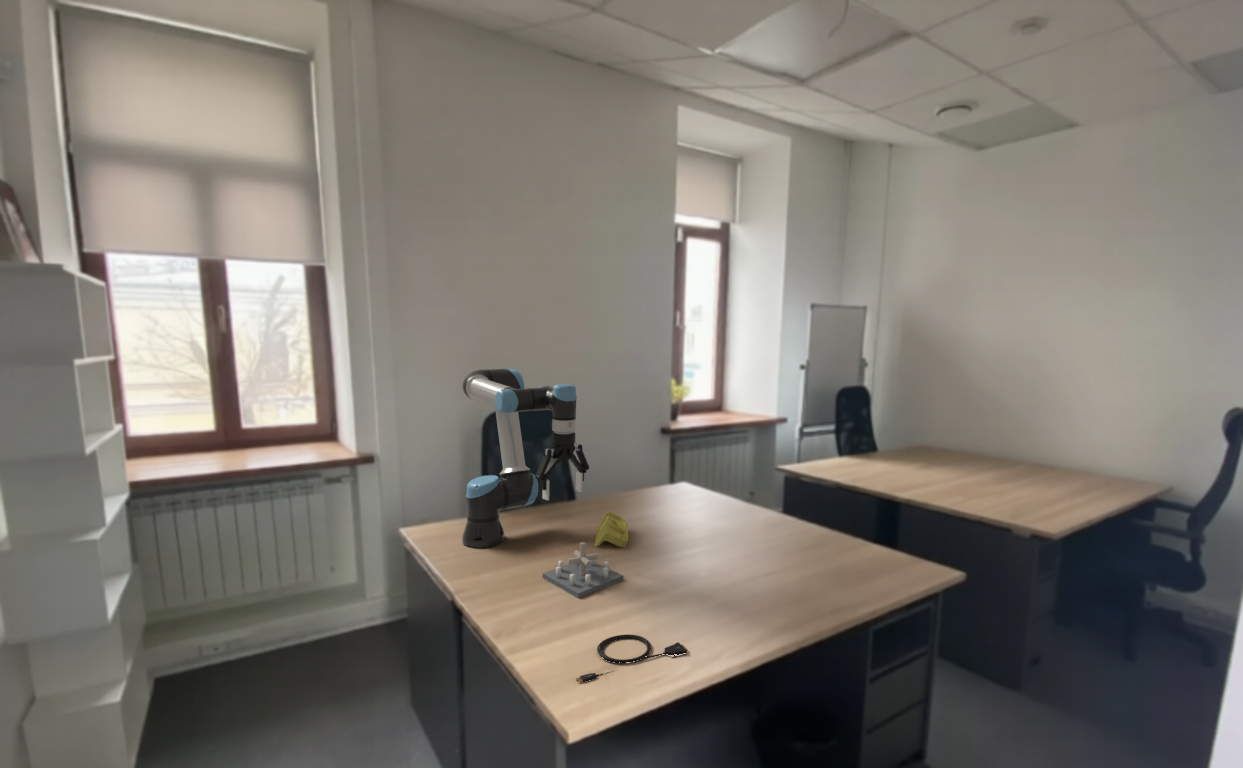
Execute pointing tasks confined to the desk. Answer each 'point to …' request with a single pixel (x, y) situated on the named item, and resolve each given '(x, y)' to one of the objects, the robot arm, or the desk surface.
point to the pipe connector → (582, 558)
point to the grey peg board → (582, 578)
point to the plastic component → (612, 530)
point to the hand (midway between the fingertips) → (562, 495)
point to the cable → (669, 650)
